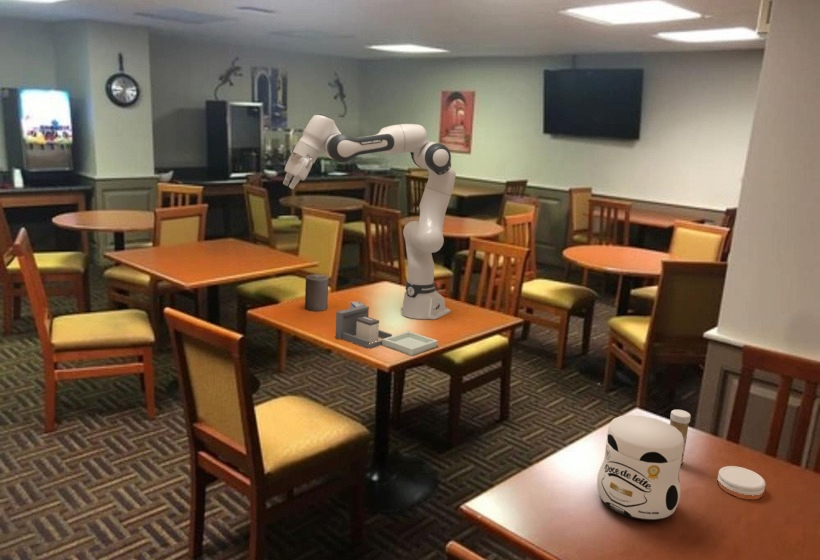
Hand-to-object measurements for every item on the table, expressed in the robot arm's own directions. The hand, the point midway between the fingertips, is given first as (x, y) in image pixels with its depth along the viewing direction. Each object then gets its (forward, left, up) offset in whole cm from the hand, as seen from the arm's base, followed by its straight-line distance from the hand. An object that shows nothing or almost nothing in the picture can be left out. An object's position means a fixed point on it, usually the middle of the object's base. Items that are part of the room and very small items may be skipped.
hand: (287, 186), depth 248 cm
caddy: (-9, +35, -53) cm, 64 cm away
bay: (-9, +34, -53) cm, 64 cm away
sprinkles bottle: (-1, +151, -54) cm, 160 cm away
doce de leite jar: (+25, +152, -54) cm, 163 cm away
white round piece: (0, +167, -54) cm, 175 cm away
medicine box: (-19, +20, -54) cm, 60 cm away
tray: (-16, +50, -53) cm, 75 cm away
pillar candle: (-22, -8, -54) cm, 59 cm away
